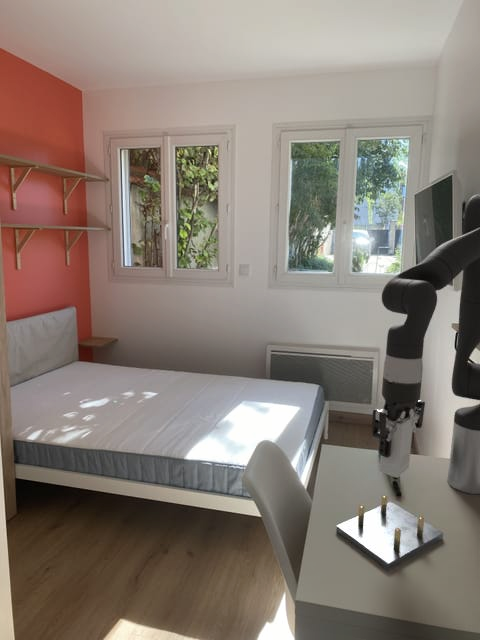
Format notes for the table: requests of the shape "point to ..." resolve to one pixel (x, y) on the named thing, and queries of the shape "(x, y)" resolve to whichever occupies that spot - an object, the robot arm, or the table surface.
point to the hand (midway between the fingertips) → (396, 451)
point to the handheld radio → (393, 481)
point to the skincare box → (398, 449)
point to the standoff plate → (389, 533)
